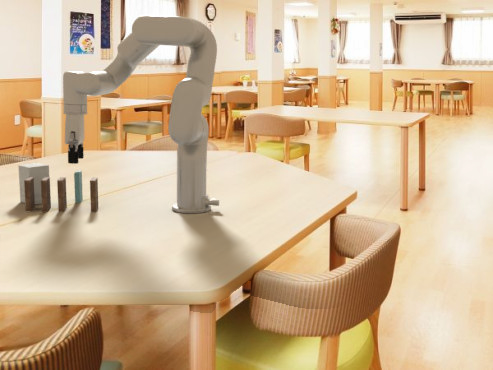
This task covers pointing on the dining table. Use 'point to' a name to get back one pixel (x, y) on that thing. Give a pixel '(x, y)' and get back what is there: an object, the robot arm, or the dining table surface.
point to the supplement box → (38, 173)
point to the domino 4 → (78, 186)
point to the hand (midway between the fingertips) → (76, 160)
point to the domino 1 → (29, 193)
